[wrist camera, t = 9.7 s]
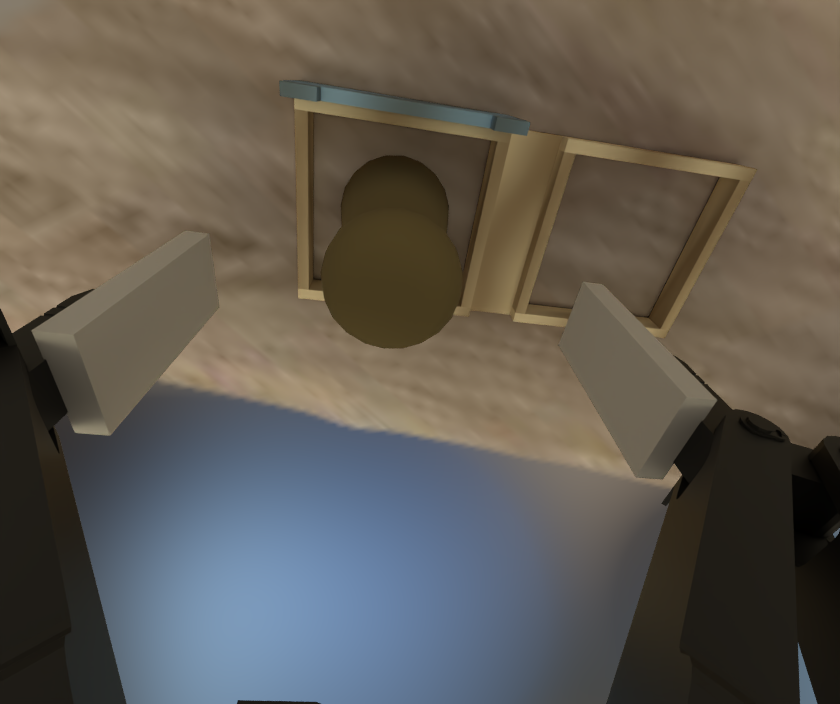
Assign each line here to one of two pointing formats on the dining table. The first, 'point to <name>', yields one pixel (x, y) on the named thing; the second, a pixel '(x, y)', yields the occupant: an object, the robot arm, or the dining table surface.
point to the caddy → (508, 199)
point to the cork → (392, 256)
